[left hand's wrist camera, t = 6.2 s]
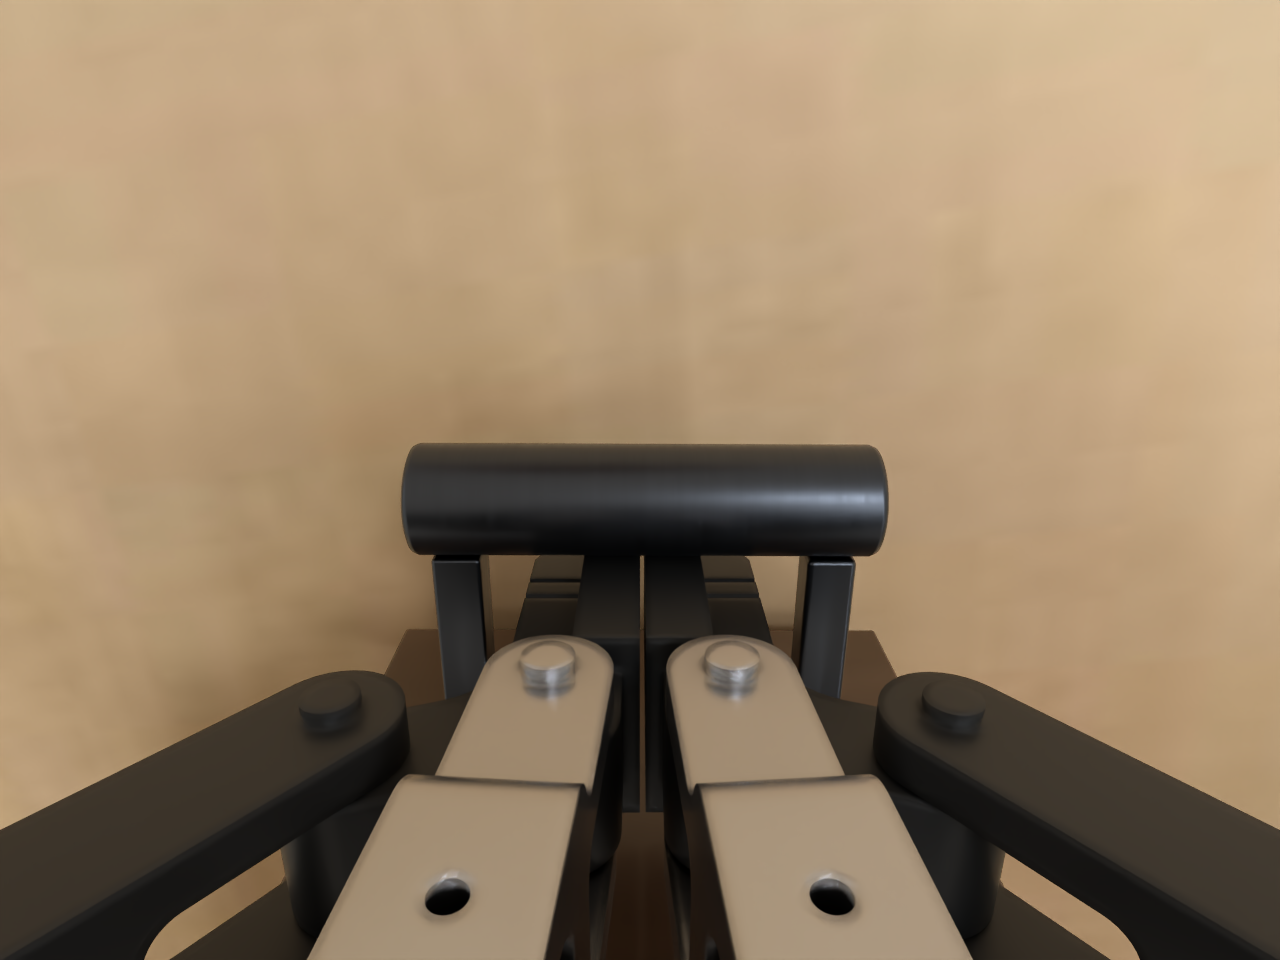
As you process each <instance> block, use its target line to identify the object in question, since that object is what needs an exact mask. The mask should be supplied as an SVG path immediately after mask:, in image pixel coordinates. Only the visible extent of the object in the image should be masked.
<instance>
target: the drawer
mask: <svg viewBox="0 0 1280 960" xmlns="http://www.w3.org/2000/svg"><path fill="white" fill-rule="evenodd" d="M888 511H889V492H888V481H887V475H886V470H885V466H884V463H883V460H882V457H881V455H880V453H879V451H878V450H877V449H876V448H874V447H872V446H870V445H768V444H527V443H420V444H417V445H415V446H413V447H412V449H411V450H410V452H409V454H408V457H407V460H406V463H405V467H404V471H403V477H402V486H401V515H402V524H403V529H404V534H405V537H406V540H407V543H408V546H409V548H410V549H411V550H412V552H414V553H417V554H419V555H435V556H434V558H433V560H432V571H433V581H434V592H435V602H436V613H437V623H438V629H409V630H406V632H405V634H404V636H403V638H402V640H401V642H400V644H399V646H398V648H397V650H396V652H395V654H394V656H393V658H392V660H391V662H390V664H389V667H388V669H387V671H386V673H385V676H387V677H389V678H392V679H393V680H394V681H396V682H397V683H398V684H399V685H400V686H401V688H402V689H403V692H404V694H405V701H406V707H411V706H416V705H421V704H426V703H431V702H436V701H441V700H445V699H449V698H453V697H457V696H460V695H462V694H465V693H468V692H470V691H472V690H474V688H475V686H476V683H477V681H478V679H479V677H480V674H481V672H482V670H483V668H484V666H485V664H486V662H487V661H488V659H489V658H490V657H491V656H492V655H493V654H494V653H496V652H497V651H498V650H500V649H501V648H503V647H505V646H507V645H508V644H511V643H513V640H514V636H515V633H516V630H494V629H493V615H492V600H491V585H490V570H489V556H488V555H635V556H800V557H799V569H798V581H797V592H796V604H795V616H794V628H793V630H769V631H770V635H771V638H772V642H773V645H774V646H775V647H777V648H779V649H780V650H782V651H783V652H784V653H786V654H787V655H788V656H789V657H790V658H791V659H792V661H793V663H794V664H795V666H796V668H797V670H798V672H799V675H800V677H801V679H802V681H803V683H804V686H806V687H808V688H810V689H812V690H814V691H816V692H819V693H821V694H824V695H827V696H830V697H834V698H838V699H842V700H847V701H852V702H857V703H862V704H867V705H872V706H877V704H878V696H879V694H880V691H881V690H882V688H883V687H884V686H885V685H886V684H887V683H888V682H890V681H891V680H893V679H895V678H897V676H896V674H895V672H894V670H893V668H892V666H891V664H890V662H889V660H888V658H887V656H886V654H885V652H884V650H883V648H882V646H881V645H880V643H879V641H878V639H877V637H876V635H875V633H874V631H848V630H849V621H850V612H851V603H852V594H853V585H854V576H855V567H856V563H855V560H854V559H853V557H852V556H871V555H873V554H875V553H877V552H878V550H879V549H880V547H881V545H882V542H883V540H884V536H885V532H886V527H887V521H888ZM285 881H286V875H285V876H284V878H283V880H282V882H281V884H282V883H283V882H285ZM999 884H1000V885H1001V886H1003V884H1002V882H1001V880H1000V882H999ZM1003 887H1004V886H1003ZM605 960H675V956H674V949H673V941H672V933H671V925H670V917H669V910H668V902H667V894H666V886H665V878H664V815H663V812H646V806H645V695H644V630H640V813H622V834H621V840H620V843H619V846H618V848H617V850H616V878H615V886H614V894H613V901H612V909H611V917H610V925H609V933H608V940H607V948H606V956H605Z"/></svg>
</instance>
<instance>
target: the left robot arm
mask: <svg viewBox="0 0 1280 960" xmlns="http://www.w3.org/2000/svg"><path fill="white" fill-rule="evenodd" d="M644 695H645V806H646V812H663V815H664V878H665V886H666V894H667V902H668V910H669V917H670V925H671V933H672V941H673V949H674V956H675V960H1110V959H1109V958H1107V957H1106V956H1104V955H1103V954H1101V953H1100V952H1098V951H1097V950H1095V949H1094V948H1092V947H1091V946H1089V945H1088V944H1086V943H1085V942H1084V941H1082V940H1081V939H1079V938H1078V937H1076V936H1075V935H1073V934H1072V933H1070V932H1069V931H1067V930H1066V929H1064V928H1063V927H1061V926H1060V925H1059V924H1057V923H1056V922H1054V921H1053V920H1051V919H1050V918H1048V917H1047V916H1045V915H1044V914H1042V913H1041V912H1039V911H1038V910H1036V909H1035V908H1034V907H1032V906H1031V905H1029V904H1028V903H1026V902H1025V901H1023V900H1022V899H1020V898H1019V897H1017V896H1016V895H1014V894H1013V893H1011V892H1010V891H1008V890H1007V889H1006V888H1004V887H1003V886H1001V885H1000V884H999V882H1000V877H1001V872H1002V867H1003V862H1004V857H1005V852H1006V853H1007V854H1009V855H1010V856H1012V857H1014V858H1015V859H1017V860H1018V861H1020V862H1021V863H1023V864H1024V865H1026V866H1028V867H1029V868H1031V869H1032V870H1034V871H1035V872H1037V873H1038V874H1040V875H1041V876H1043V877H1045V878H1046V879H1048V880H1049V881H1051V882H1052V883H1054V884H1055V885H1057V886H1059V887H1060V888H1062V889H1063V890H1065V891H1066V892H1068V893H1069V894H1071V895H1072V896H1074V897H1076V898H1077V899H1079V900H1080V901H1082V902H1083V903H1085V904H1086V905H1088V906H1090V907H1091V908H1093V909H1094V910H1096V911H1097V912H1099V913H1100V914H1102V915H1103V916H1105V917H1106V918H1108V919H1109V920H1110V921H1111V922H1113V923H1114V924H1115V925H1116V926H1117V927H1118V928H1119V929H1120V930H1121V931H1122V932H1123V933H1124V934H1125V935H1126V937H1127V938H1128V939H1129V941H1130V942H1131V943H1132V945H1133V946H1134V948H1135V950H1136V951H1137V954H1138V956H1139V958H1140V960H1280V830H1279V829H1276V828H1274V827H1272V826H1270V825H1268V824H1266V823H1264V822H1262V821H1260V820H1258V819H1256V818H1254V817H1252V816H1250V815H1248V814H1246V813H1244V812H1242V811H1240V810H1238V809H1236V808H1234V807H1232V806H1230V805H1228V804H1226V803H1224V802H1222V801H1220V800H1218V799H1216V798H1214V797H1212V796H1210V795H1208V794H1206V793H1204V792H1202V791H1200V790H1198V789H1196V788H1194V787H1192V786H1190V785H1187V784H1185V783H1183V782H1181V781H1179V780H1177V779H1175V778H1173V777H1171V776H1169V775H1167V774H1165V773H1163V772H1161V771H1159V770H1157V769H1155V768H1153V767H1151V766H1149V765H1147V764H1145V763H1143V762H1141V761H1139V760H1137V759H1135V758H1133V757H1131V756H1129V755H1127V754H1125V753H1123V752H1121V751H1119V750H1117V749H1115V748H1113V747H1111V746H1109V745H1107V744H1105V743H1103V742H1101V741H1099V740H1096V739H1094V738H1092V737H1090V736H1088V735H1086V734H1084V733H1082V732H1080V731H1078V730H1076V729H1074V728H1072V727H1070V726H1068V725H1066V724H1064V723H1062V722H1060V721H1058V720H1056V719H1054V718H1052V717H1050V716H1048V715H1046V714H1044V713H1042V712H1040V711H1038V710H1036V709H1034V708H1032V707H1030V706H1028V705H1026V704H1024V703H1022V702H1020V701H1018V700H1016V699H1014V698H1012V697H1010V696H1007V695H1005V694H1003V693H1001V692H999V691H997V690H995V689H993V688H991V687H989V686H987V685H985V684H982V683H980V682H978V681H975V680H972V679H969V678H965V677H961V676H957V675H953V674H946V673H937V672H919V673H912V674H907V675H903V676H899V677H897V678H895V679H893V680H891V681H890V682H888V683H887V684H886V685H885V686H884V687H883V688H882V690H881V691H880V694H879V696H878V704H877V706H872V705H867V704H862V703H857V702H852V701H847V700H842V699H838V698H834V697H830V696H827V695H824V694H821V693H819V692H816V691H814V690H812V689H810V688H808V687H806V686H804V683H803V681H802V679H801V677H800V675H799V672H798V670H797V668H796V666H795V664H794V663H793V661H792V659H791V658H790V657H789V656H788V655H787V654H786V653H784V652H783V651H782V650H780V649H779V648H777V647H775V646H774V645H773V642H772V638H771V635H770V631H769V628H768V624H767V621H766V617H765V614H764V610H763V607H762V603H761V600H760V598H759V593H758V589H757V586H756V582H754V575H753V572H752V568H751V565H750V561H749V560H748V559H747V558H746V557H745V556H644ZM622 813H640V556H635V555H541V556H540V557H538V558H537V559H536V560H535V563H534V567H533V570H532V574H531V578H530V583H529V585H528V589H527V592H526V598H525V600H524V603H523V607H522V611H521V614H520V618H519V622H518V625H517V629H516V633H515V636H514V640H513V643H511V644H508V645H507V646H505V647H503V648H501V649H500V650H498V651H497V652H496V653H494V654H493V655H492V656H491V657H490V658H489V659H488V661H487V662H486V664H485V666H484V668H483V670H482V672H481V674H480V677H479V679H478V681H477V683H476V686H475V688H474V690H472V691H470V692H468V693H465V694H462V695H460V696H457V697H453V698H449V699H445V700H441V701H436V702H431V703H426V704H421V705H416V706H411V707H406V701H405V694H404V692H403V689H402V688H401V686H400V685H399V684H398V683H397V682H396V681H394V680H393V679H392V678H389V677H387V676H385V675H382V674H379V673H375V672H369V671H354V670H352V671H339V672H333V673H327V674H323V675H319V676H316V677H313V678H310V679H307V680H304V681H302V682H300V683H297V684H295V685H293V686H291V687H289V688H287V689H285V690H283V691H281V692H279V693H277V694H275V695H273V696H271V697H268V698H266V699H264V700H262V701H260V702H258V703H256V704H254V705H252V706H250V707H248V708H246V709H244V710H242V711H240V712H238V713H236V714H234V715H232V716H230V717H228V718H226V719H224V720H222V721H220V722H218V723H216V724H214V725H212V726H210V727H208V728H206V729H204V730H202V731H200V732H198V733H196V734H194V735H192V736H190V737H188V738H186V739H184V740H182V741H180V742H177V743H175V744H173V745H171V746H169V747H167V748H165V749H163V750H161V751H159V752H157V753H155V754H153V755H151V756H149V757H147V758H145V759H143V760H141V761H139V762H137V763H135V764H133V765H131V766H129V767H127V768H125V769H123V770H121V771H119V772H117V773H115V774H113V775H111V776H109V777H107V778H105V779H103V780H101V781H99V782H97V783H95V784H93V785H91V786H88V787H86V788H84V789H82V790H80V791H78V792H76V793H74V794H72V795H70V796H68V797H66V798H64V799H62V800H60V801H58V802H56V803H54V804H52V805H50V806H48V807H46V808H44V809H42V810H40V811H38V812H36V813H34V814H32V815H30V816H28V817H26V818H24V819H22V820H20V821H18V822H16V823H14V824H12V825H10V826H8V827H6V828H4V829H2V830H0V960H144V958H145V955H146V953H147V951H148V949H149V947H150V945H151V944H152V942H153V940H154V939H155V938H156V936H157V935H158V934H159V932H160V931H161V930H162V929H163V928H164V927H165V926H166V925H167V924H168V923H169V922H170V921H171V920H172V919H173V918H174V917H176V916H177V915H179V914H180V913H181V912H183V911H184V910H186V909H187V908H189V907H190V906H192V905H194V904H195V903H197V902H198V901H200V900H201V899H203V898H204V897H206V896H208V895H209V894H211V893H212V892H214V891H215V890H217V889H218V888H220V887H221V886H223V885H225V884H226V883H228V882H229V881H231V880H232V879H234V878H235V877H237V876H239V875H240V874H242V873H243V872H245V871H246V870H248V869H249V868H251V867H252V866H254V865H256V864H257V863H259V862H260V861H262V860H263V859H265V858H266V857H268V856H270V855H271V854H273V853H274V852H276V851H277V850H279V849H281V854H282V860H283V865H284V870H285V875H286V881H285V882H283V883H282V884H280V885H279V886H277V887H276V888H274V889H273V890H272V891H270V892H269V893H267V894H266V895H264V896H263V897H261V898H260V899H258V900H257V901H255V902H254V903H252V904H251V905H249V906H248V907H247V908H245V909H244V910H242V911H241V912H239V913H238V914H236V915H235V916H233V917H232V918H230V919H229V920H227V921H226V922H224V923H223V924H222V925H220V926H219V927H217V928H216V929H214V930H213V931H211V932H210V933H208V934H207V935H205V936H204V937H202V938H201V939H199V940H198V941H196V942H195V943H194V944H192V945H191V946H189V947H188V948H186V949H185V950H183V951H182V952H180V953H179V954H177V955H176V956H174V957H173V958H171V959H170V960H605V956H606V948H607V940H608V933H609V925H610V917H611V909H612V901H613V894H614V886H615V878H616V850H617V848H618V846H619V843H620V840H621V834H622Z"/></svg>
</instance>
